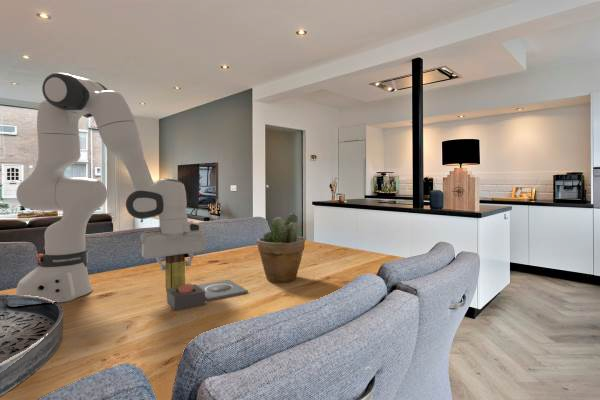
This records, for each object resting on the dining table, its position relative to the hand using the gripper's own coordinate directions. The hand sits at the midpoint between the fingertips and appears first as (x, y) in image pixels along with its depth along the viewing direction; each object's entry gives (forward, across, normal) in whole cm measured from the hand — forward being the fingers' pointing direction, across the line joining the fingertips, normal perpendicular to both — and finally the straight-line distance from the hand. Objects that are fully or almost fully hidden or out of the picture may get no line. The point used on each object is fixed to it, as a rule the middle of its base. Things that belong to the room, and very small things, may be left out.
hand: (176, 267), depth 114 cm
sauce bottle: (+9, 0, +1) cm, 9 cm away
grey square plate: (+9, +13, -5) cm, 16 cm away
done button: (+6, 0, -12) cm, 13 cm away
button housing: (+9, 0, -12) cm, 15 cm away
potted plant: (+10, +38, -4) cm, 39 cm away
